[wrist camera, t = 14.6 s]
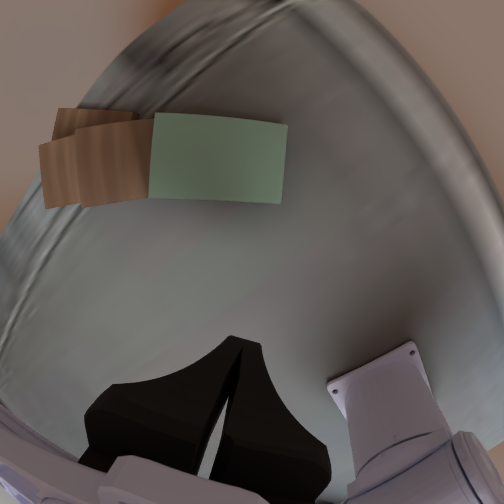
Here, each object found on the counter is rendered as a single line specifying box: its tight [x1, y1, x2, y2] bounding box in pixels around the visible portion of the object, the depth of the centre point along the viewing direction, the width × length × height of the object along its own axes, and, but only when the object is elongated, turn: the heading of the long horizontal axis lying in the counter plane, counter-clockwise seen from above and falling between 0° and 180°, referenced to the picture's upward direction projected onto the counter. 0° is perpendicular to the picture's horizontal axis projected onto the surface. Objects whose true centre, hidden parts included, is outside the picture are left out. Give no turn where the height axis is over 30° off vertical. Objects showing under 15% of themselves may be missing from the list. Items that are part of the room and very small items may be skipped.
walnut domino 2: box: [52, 108, 139, 141], centre depth 21 cm, size 2×5×8 cm
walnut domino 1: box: [39, 135, 81, 209], centre depth 19 cm, size 2×5×8 cm
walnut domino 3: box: [75, 118, 154, 208], centre depth 18 cm, size 2×5×8 cm
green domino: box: [148, 113, 288, 204], centre depth 18 cm, size 2×5×8 cm
